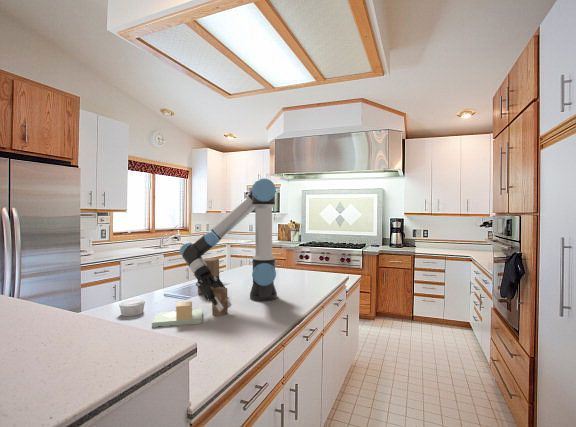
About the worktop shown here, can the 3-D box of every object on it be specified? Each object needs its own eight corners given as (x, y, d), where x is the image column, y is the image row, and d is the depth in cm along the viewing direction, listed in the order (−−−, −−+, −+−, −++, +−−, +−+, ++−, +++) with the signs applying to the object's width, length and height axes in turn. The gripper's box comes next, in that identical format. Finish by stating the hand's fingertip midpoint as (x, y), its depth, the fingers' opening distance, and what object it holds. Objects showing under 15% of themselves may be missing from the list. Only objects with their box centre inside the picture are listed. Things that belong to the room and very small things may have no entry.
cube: (192, 314, 144) (191, 301, 144) (191, 319, 138) (190, 305, 138) (178, 316, 142) (177, 302, 142) (176, 320, 137) (176, 306, 137)
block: (213, 295, 186) (212, 260, 186) (197, 294, 188) (196, 260, 188) (220, 290, 196) (219, 258, 195) (204, 290, 198) (204, 257, 197)
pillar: (219, 311, 154) (219, 286, 154) (227, 313, 152) (227, 287, 152) (212, 314, 150) (211, 288, 150) (220, 316, 148) (219, 290, 148)
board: (202, 313, 152) (202, 308, 152) (201, 323, 139) (201, 318, 139) (157, 316, 148) (157, 312, 148) (152, 327, 134) (151, 322, 134)
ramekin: (132, 318, 147) (131, 306, 147) (113, 315, 150) (113, 304, 150) (150, 311, 157) (150, 300, 157) (132, 309, 161) (132, 298, 161)
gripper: (210, 271, 167) (234, 307, 158) (182, 277, 152) (207, 318, 143) (217, 262, 164) (242, 298, 155) (189, 267, 149) (215, 308, 140)
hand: (225, 308), depth 149 cm, fingers closed on pillar, 5 cm apart
